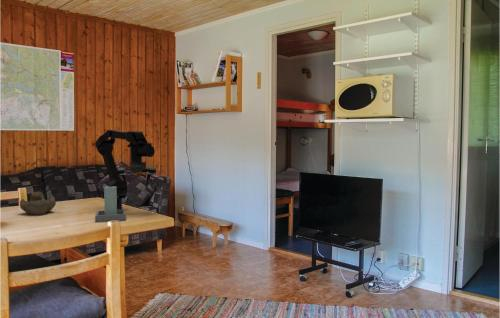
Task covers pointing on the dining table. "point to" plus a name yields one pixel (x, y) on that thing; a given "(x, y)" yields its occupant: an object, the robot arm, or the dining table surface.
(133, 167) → the robot arm
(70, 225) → the dining table surface
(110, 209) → the block
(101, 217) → the tray
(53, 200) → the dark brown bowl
